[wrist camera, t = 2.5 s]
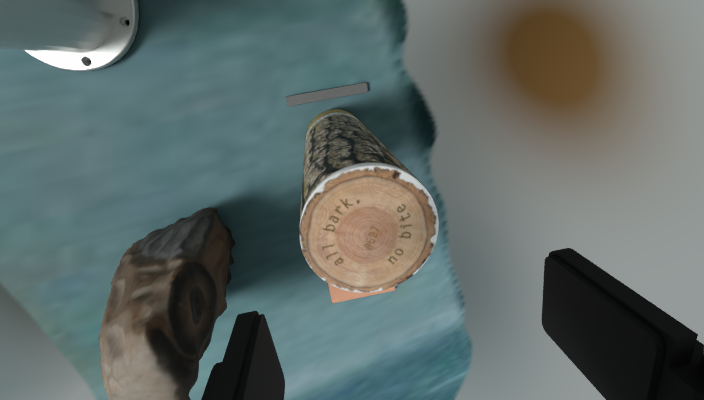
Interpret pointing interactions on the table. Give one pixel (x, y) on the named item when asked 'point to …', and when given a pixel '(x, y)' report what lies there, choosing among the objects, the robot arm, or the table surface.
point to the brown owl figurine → (165, 309)
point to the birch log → (361, 208)
